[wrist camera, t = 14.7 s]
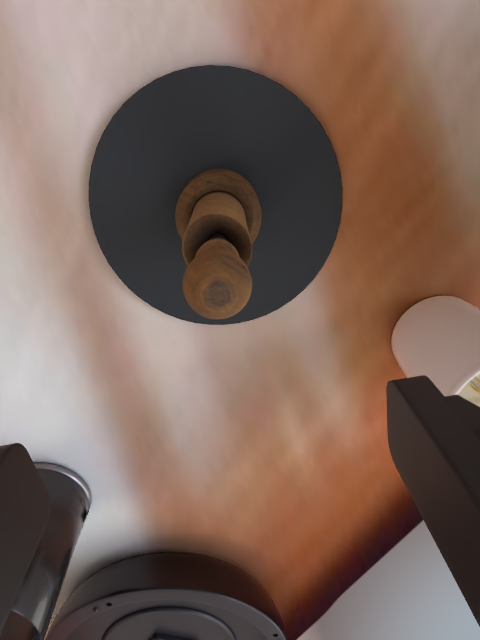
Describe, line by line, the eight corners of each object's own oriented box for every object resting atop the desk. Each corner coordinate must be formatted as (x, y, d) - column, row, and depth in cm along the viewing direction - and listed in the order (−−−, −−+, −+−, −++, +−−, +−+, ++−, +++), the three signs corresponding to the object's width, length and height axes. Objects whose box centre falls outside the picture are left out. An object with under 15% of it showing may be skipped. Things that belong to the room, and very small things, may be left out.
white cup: (364, 364, 41) (417, 451, 30) (413, 272, 37) (492, 334, 26) (451, 389, 43) (530, 480, 32) (506, 304, 39) (617, 374, 28)
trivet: (130, 337, 39) (128, 341, 38) (54, 94, 30) (50, 93, 29) (346, 301, 38) (349, 304, 37) (330, 42, 30) (333, 40, 29)
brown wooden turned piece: (183, 160, 32) (145, 198, 15) (267, 177, 32) (315, 230, 16) (172, 245, 34) (130, 354, 18) (250, 259, 35) (276, 376, 19)
